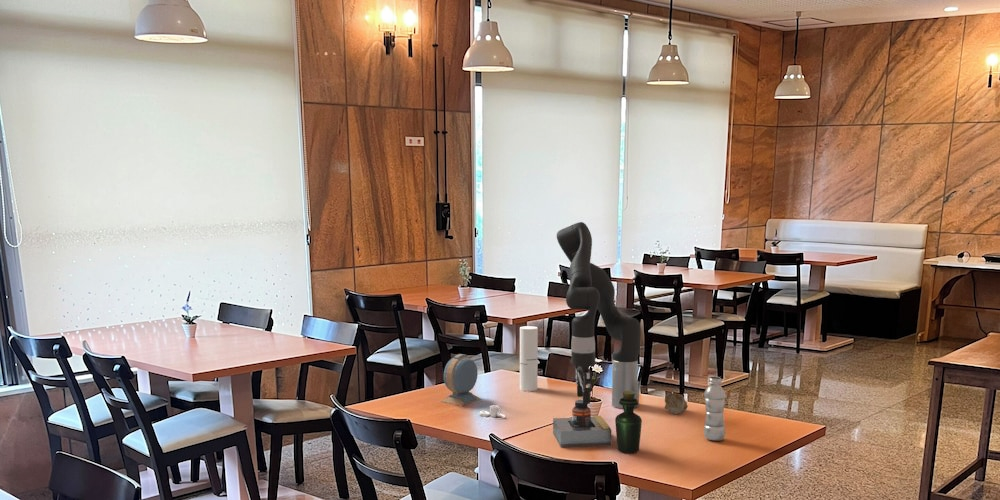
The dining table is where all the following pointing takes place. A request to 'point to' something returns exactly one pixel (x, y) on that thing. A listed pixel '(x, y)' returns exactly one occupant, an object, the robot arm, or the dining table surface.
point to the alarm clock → (460, 380)
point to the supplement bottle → (581, 415)
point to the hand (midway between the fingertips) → (583, 400)
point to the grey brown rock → (675, 403)
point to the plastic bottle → (714, 410)
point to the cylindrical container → (528, 358)
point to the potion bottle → (628, 425)
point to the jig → (582, 433)
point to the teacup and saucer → (492, 412)
